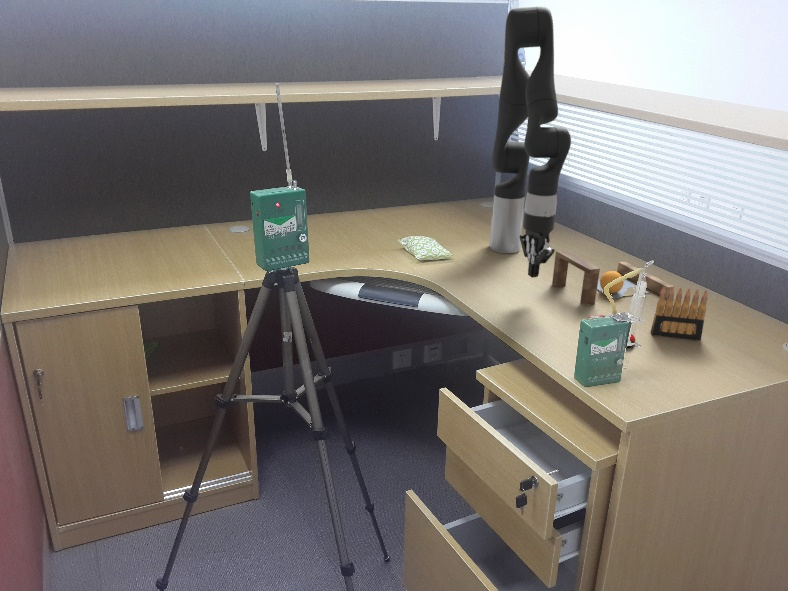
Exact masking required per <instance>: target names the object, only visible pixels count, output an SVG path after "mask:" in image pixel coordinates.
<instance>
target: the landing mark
mask: <svg viewBox="0 0 788 591" xmlns="http://www.w3.org/2000/svg"><path fill="white" fill-rule="evenodd" d="M636 286H637V285H636V284H635V283H633V282H630V281H629V280H627V279H625V281H624V284H623V287H622V289H621V290H620V291H619V292H617V293H614V294H612V295H611V294H610V295H611V296H612V297H613V299H618V298H619V297H621V298H623V297H622V296H624V294H623V293H624V292H626V291H627V290H628V289H627V288H629V287H633V289H634V290H635V288H634V287H636ZM598 290H599V291H598ZM602 290H603V289H602V288H601V286H600V279H598V286H597V291H598V292H600V291H601V292H602ZM601 292H600V293H601ZM603 293H604V290H603ZM603 293H602V294H603ZM647 294H650V292H649V291H648V290H646V294H645V295H647ZM613 299H612V300H613ZM619 299H620V298H619Z"/></svg>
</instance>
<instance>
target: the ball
mask: <svg viewBox="0 0 788 591" xmlns="http://www.w3.org/2000/svg"><path fill="white" fill-rule="evenodd" d="M619 277H623V275H622V274H620V273H618V272H617V271H616V270H615V271H614V270H610V271H609V270H608V271H606V272H604V273H603V274H602V275H601V277H600V278H599V280H600V286H601V288H602V289H603V290H604V287H605V286H606V285H607V284H608V283H610V282H612V281H613V280H615V279H617V278H619ZM623 284H624V280H623V281H621V282H619V283H617V284H615V285H613V286H612V287H610V288H609V293H610V294H614V293H617V292H619V291H620V290H621V289H622V287H623Z"/></svg>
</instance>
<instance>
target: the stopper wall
mask: <svg viewBox="0 0 788 591" xmlns="http://www.w3.org/2000/svg"><path fill="white" fill-rule="evenodd" d="M636 269H639V268H638V267H636V266H634V265H633V264H630V263H629V262H626V261H618V264H617V270H616V272H618V273H619V274H620V273H621V274H620V275H622V274H623V275H622V276H624V275H625V274H627V273H629V272H631V271H634V270H636ZM646 273H647V276H646V281H647V289H649V290H650V291H652V292H654V293H656V294H658V295H660V293H661V290H662V288H663V287H664V286H665V289H666V295H665V299H667V298H668V294H669V291H670V289H671V288H672V287H673V288H674V289H675V286H674V285H672V284H670V283H668V282H667V281H664V280H662V279H660V278H658V277H657V276H654V275H652V274H650V273H649V272H646ZM638 278H639V274H637V275H636V276H634V277H632V278H630V280H631V281H633V282H635V283H637V281H638Z"/></svg>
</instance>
